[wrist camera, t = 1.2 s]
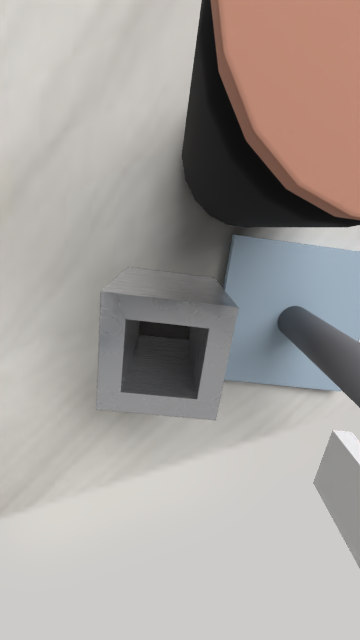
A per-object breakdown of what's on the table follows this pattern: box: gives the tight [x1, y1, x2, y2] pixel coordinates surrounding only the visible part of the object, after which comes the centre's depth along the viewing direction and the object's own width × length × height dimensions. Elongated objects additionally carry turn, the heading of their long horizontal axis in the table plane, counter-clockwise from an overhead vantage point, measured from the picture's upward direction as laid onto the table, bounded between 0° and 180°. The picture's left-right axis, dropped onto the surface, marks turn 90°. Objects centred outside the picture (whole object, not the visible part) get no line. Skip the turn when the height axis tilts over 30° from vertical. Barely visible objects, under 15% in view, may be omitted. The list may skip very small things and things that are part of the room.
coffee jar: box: [182, 0, 360, 227], centre depth 14 cm, size 11×11×18 cm
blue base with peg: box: [223, 235, 360, 407], centre depth 21 cm, size 14×14×13 cm
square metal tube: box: [96, 267, 239, 420], centre depth 22 cm, size 8×8×10 cm
